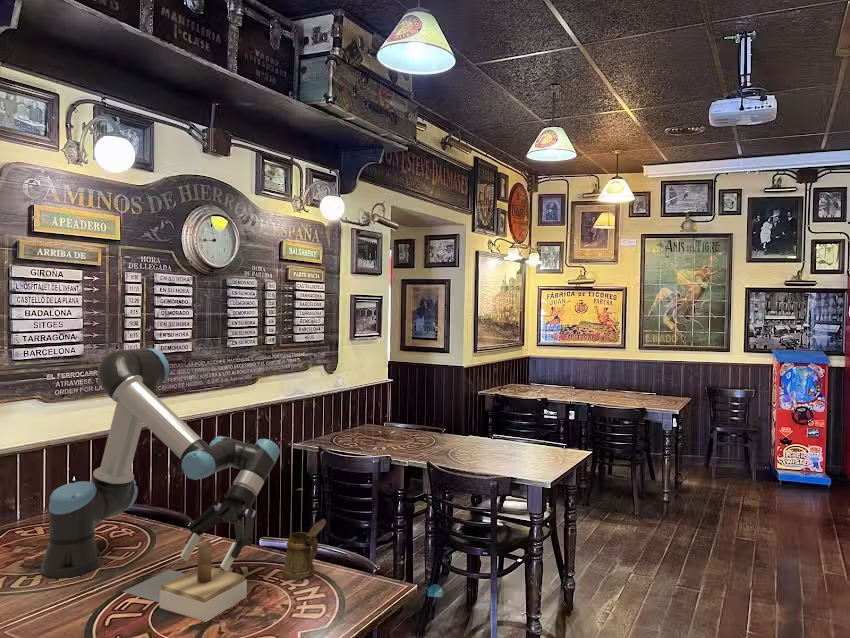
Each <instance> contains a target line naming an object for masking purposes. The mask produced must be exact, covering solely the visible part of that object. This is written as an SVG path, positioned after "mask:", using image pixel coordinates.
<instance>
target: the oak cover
mask: <svg viewBox="0 0 850 638" xmlns="http://www.w3.org/2000/svg"><path fill="white" fill-rule="evenodd" d="M212 553H213V543H212V542H210V541H203V542H200V543H199V542H198V544H197V567H196V568H194V569H192V570H190V571H188V572H185V574H184V575H182V576H180V577H177V578H175V579H173V580H171V581H169V582H167V583H165V584H163V585H161V590H162V591H166V592H169V593H172V594H176V595H179V596H183V597H186V598H190V599H193V600H197V601H200V602H204V603H206V602H207V601H209V600H211V599H213V598H215V597H216V596H218V595H220V594H222V593H223V592H225V591H227V590H229V589H231V588H232V587H234V586H236V585H238V584H239V583H241V582H243V581H245V580H246V575H244V574H240V573H237V572H232V571H229V570H228V572H227V571H225V570H224V569H222V568H216V567H213V566H212V564H213V563H212V560H213V559H212V558H213V555H212Z"/></svg>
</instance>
